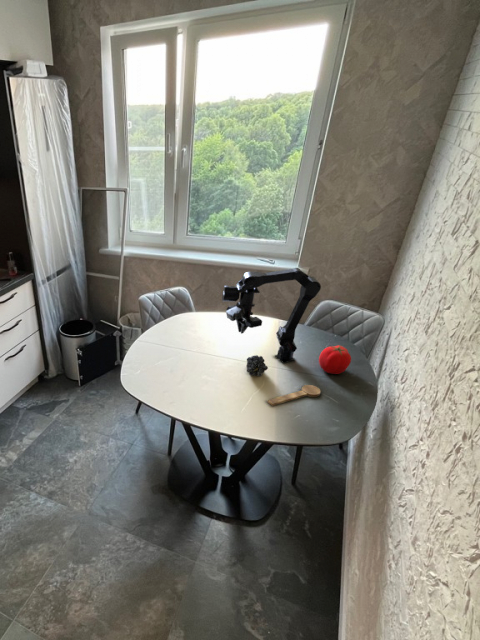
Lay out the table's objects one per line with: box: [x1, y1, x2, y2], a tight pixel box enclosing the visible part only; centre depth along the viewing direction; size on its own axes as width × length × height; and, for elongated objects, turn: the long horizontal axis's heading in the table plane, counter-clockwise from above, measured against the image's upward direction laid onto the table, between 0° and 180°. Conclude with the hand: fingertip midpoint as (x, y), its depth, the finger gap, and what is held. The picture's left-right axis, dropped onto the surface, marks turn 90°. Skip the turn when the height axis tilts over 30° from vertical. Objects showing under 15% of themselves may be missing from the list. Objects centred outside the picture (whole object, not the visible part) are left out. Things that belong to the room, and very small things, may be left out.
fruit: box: [246, 354, 269, 377], centre depth 179 cm, size 9×8×15 cm
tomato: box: [318, 344, 352, 375], centre depth 176 cm, size 12×13×12 cm
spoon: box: [267, 384, 322, 407], centre depth 164 cm, size 24×7×1 cm, turn 109°
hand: (240, 332), depth 185 cm, fingers closed
